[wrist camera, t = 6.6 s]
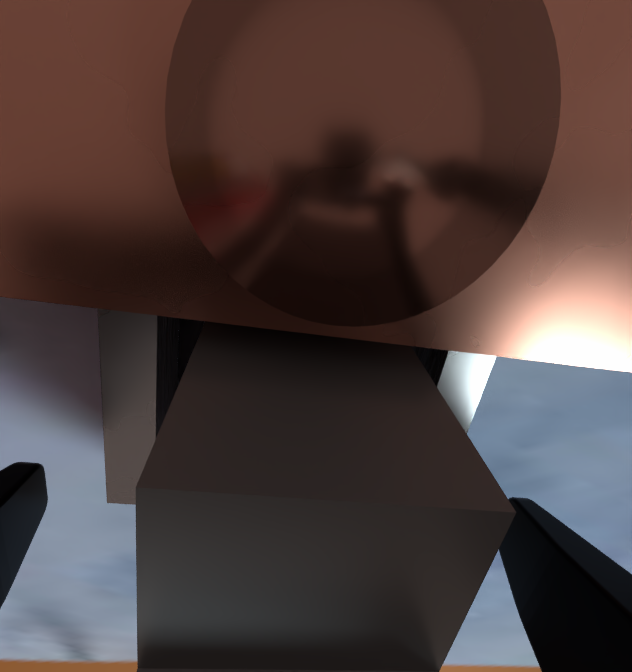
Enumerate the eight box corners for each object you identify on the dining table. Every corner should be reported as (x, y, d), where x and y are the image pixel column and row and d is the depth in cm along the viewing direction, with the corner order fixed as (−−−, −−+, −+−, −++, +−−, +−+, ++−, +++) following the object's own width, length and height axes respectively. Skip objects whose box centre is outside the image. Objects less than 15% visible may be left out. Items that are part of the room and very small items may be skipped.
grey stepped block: (388, 311, 10) (588, 627, 4) (341, 498, 12) (408, 891, 6) (218, 289, 10) (83, 614, 3) (203, 489, 12) (109, 911, 5)
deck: (648, 78, 8) (934, 28, 5) (483, 470, 12) (568, 607, 9) (-19, -76, 7) (-380, -339, 3) (42, 435, 11) (-80, 587, 7)
